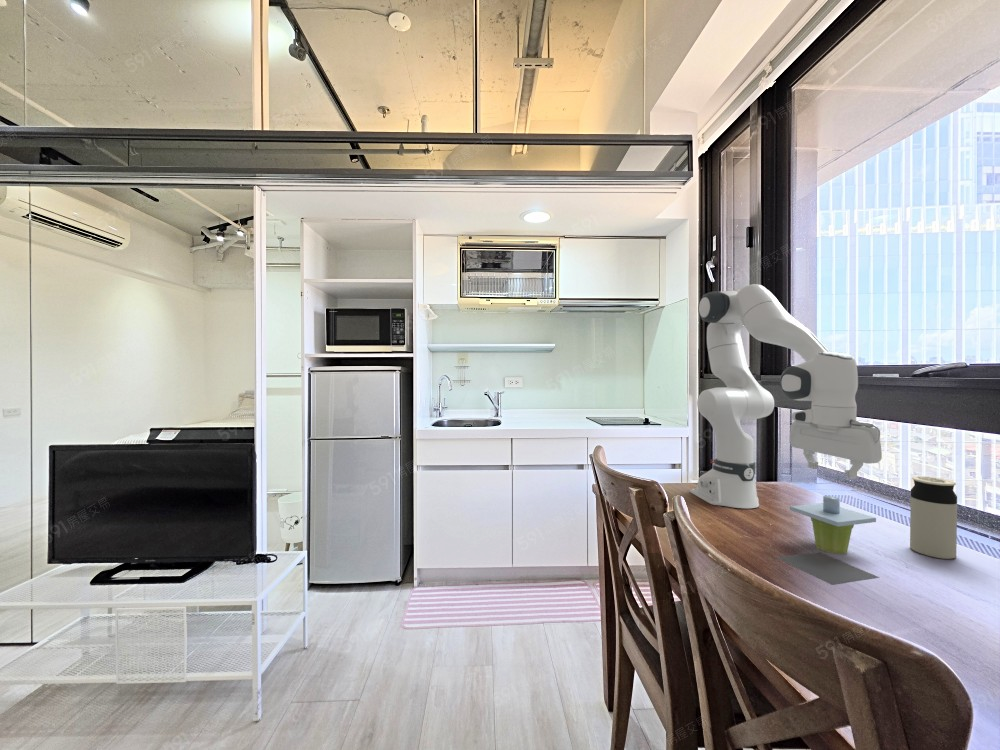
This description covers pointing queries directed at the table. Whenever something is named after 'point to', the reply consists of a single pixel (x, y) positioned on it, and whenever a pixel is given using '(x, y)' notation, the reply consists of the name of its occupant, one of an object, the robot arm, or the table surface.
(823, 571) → the mat
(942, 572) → the table surface
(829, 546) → the plant pot
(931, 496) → the travel mug
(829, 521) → the lid
